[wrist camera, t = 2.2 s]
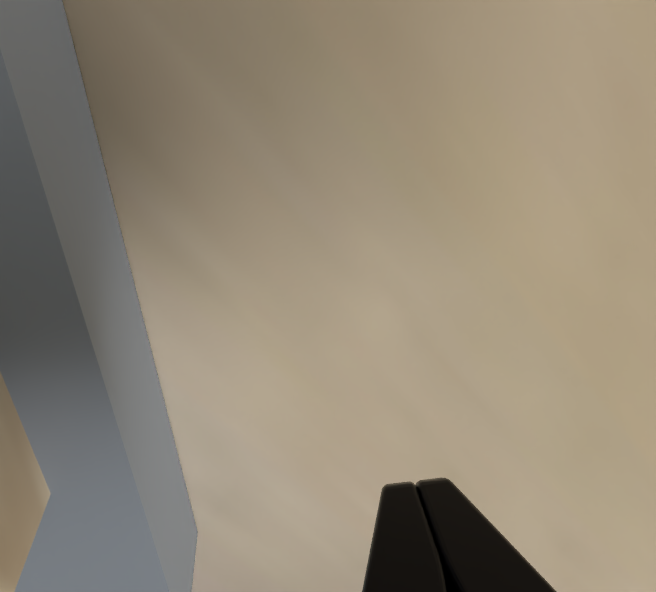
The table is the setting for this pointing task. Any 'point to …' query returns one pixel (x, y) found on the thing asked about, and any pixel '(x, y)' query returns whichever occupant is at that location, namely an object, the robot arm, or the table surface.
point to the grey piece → (79, 335)
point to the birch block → (17, 493)
